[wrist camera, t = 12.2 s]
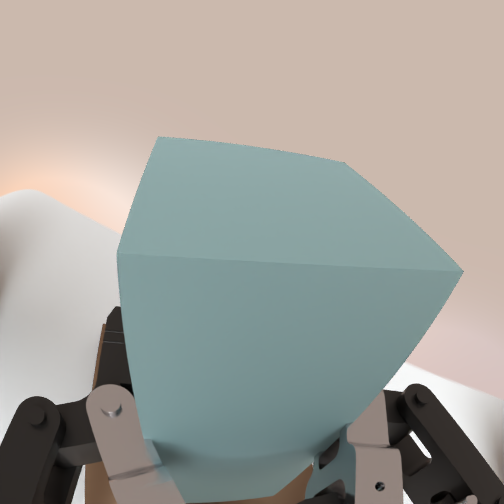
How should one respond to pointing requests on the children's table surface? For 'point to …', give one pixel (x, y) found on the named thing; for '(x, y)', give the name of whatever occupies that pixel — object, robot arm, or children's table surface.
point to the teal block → (264, 309)
